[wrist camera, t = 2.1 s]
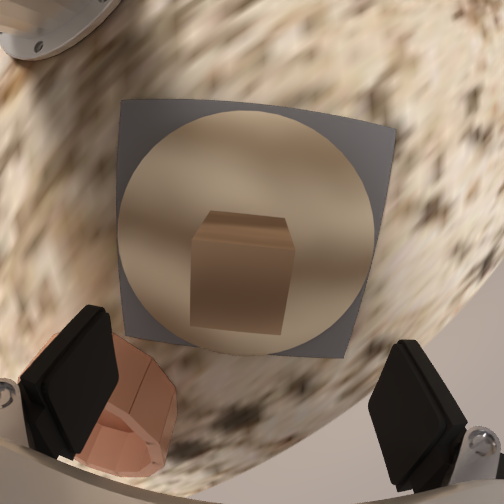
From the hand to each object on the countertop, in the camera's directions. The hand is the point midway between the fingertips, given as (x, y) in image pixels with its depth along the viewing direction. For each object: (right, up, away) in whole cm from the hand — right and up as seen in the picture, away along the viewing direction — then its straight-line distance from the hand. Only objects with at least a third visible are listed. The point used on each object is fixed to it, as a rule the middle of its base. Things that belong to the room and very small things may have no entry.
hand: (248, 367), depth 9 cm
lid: (0, +4, +9) cm, 10 cm away
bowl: (-13, -9, +14) cm, 21 cm away
